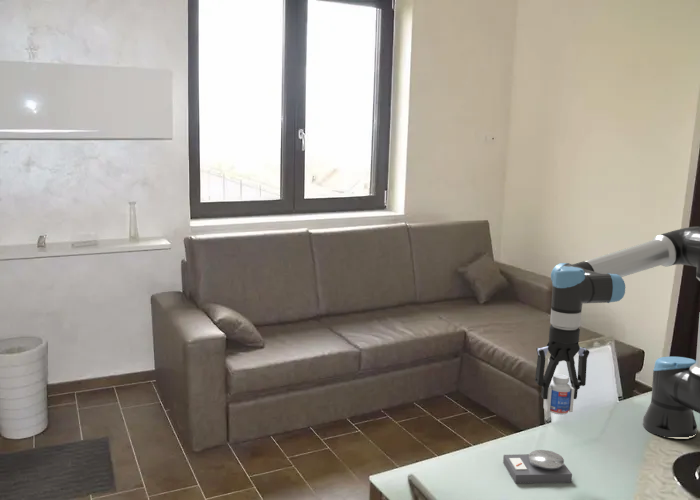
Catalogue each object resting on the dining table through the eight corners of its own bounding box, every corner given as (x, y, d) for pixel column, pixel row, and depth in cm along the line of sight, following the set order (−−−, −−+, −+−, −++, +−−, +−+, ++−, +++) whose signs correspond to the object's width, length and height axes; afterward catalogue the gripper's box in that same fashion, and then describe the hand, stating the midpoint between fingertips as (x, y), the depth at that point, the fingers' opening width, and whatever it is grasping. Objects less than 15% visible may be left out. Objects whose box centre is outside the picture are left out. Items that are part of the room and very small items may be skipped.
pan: (556, 453, 176) (556, 449, 176) (568, 469, 167) (569, 465, 167) (524, 453, 176) (524, 450, 175) (535, 470, 167) (535, 466, 167)
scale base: (555, 461, 178) (556, 451, 177) (571, 482, 167) (572, 471, 166) (503, 462, 177) (503, 452, 176) (515, 483, 166) (516, 472, 165)
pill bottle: (558, 416, 166) (560, 381, 164) (543, 409, 171) (545, 374, 169) (573, 413, 168) (576, 377, 167) (558, 405, 173) (560, 371, 172)
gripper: (593, 322, 170) (585, 404, 174) (525, 321, 169) (519, 404, 173) (605, 330, 163) (597, 415, 166) (535, 329, 161) (528, 415, 165)
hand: (557, 409), depth 169 cm, fingers closed on pill bottle, 5 cm apart
